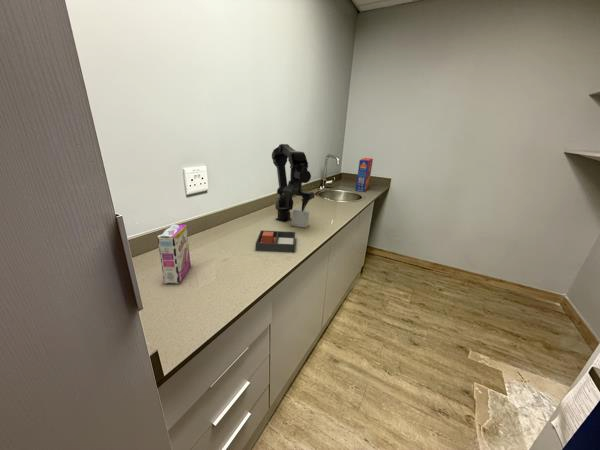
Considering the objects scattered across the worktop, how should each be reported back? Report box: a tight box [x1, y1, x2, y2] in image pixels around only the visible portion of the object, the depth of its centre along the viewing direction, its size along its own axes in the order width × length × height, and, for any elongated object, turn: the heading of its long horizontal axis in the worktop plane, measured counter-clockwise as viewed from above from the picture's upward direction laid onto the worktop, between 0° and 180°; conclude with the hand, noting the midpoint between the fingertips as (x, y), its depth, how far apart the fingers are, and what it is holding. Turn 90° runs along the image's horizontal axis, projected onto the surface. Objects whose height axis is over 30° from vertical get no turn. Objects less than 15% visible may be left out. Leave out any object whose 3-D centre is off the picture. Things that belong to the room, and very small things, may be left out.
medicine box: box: [292, 208, 310, 229], centre depth 130 cm, size 8×4×9 cm, turn 71°
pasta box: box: [355, 157, 374, 193], centre depth 231 cm, size 28×8×28 cm, turn 157°
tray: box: [255, 229, 296, 253], centre depth 107 cm, size 16×14×4 cm
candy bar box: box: [156, 223, 192, 285], centre depth 79 cm, size 11×5×16 cm, turn 5°
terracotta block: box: [262, 230, 274, 243], centre depth 107 cm, size 4×4×4 cm
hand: (294, 209), depth 123 cm, fingers open, 9 cm apart
